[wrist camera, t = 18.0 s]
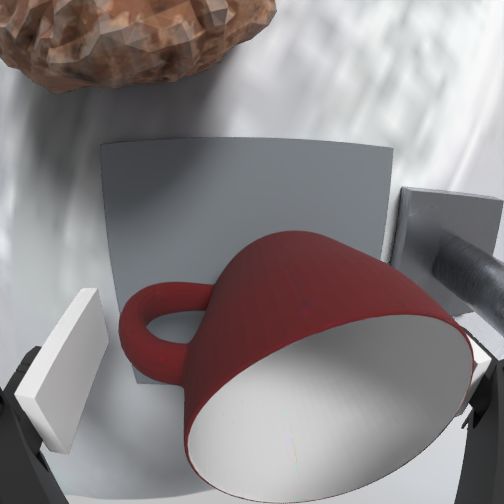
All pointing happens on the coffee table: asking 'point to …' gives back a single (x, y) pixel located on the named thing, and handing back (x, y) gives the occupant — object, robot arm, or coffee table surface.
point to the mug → (304, 368)
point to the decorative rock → (123, 38)
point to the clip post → (452, 250)
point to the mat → (231, 207)
